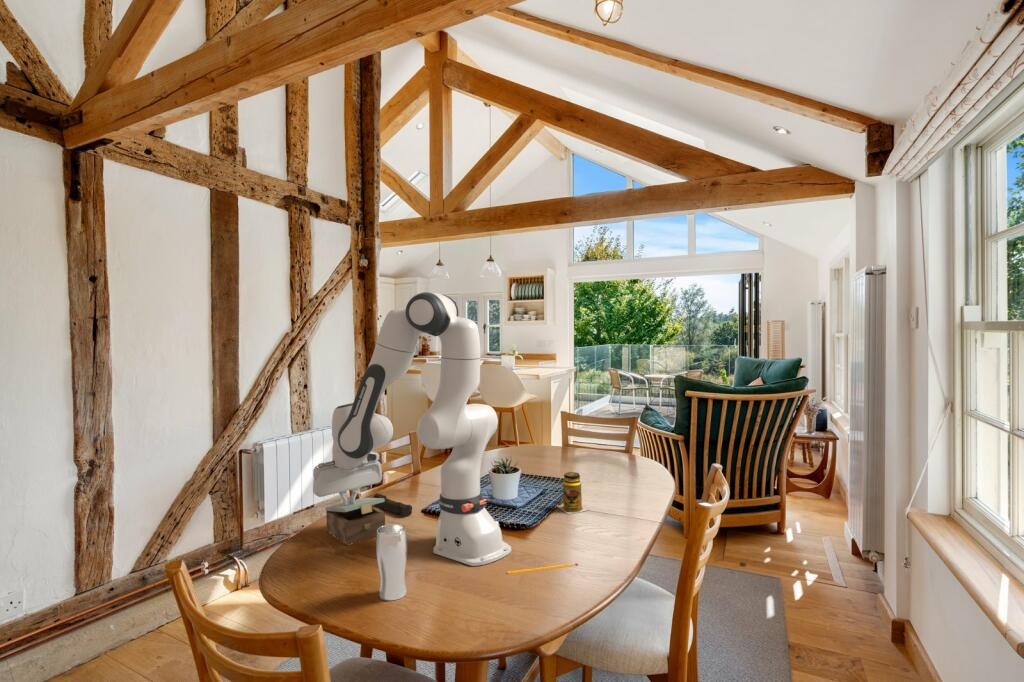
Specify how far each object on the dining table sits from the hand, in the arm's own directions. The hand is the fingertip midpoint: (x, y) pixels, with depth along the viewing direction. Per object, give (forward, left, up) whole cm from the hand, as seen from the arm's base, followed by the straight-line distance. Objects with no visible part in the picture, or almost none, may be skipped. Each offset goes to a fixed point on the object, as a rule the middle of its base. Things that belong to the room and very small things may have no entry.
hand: (349, 504), depth 149 cm
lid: (0, -2, -3) cm, 4 cm away
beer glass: (-39, +8, -10) cm, 41 cm away
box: (+1, -2, -10) cm, 10 cm away
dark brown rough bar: (+11, -19, -10) cm, 24 cm away
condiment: (-32, -63, -10) cm, 72 cm away
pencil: (-55, -25, -10) cm, 62 cm away
